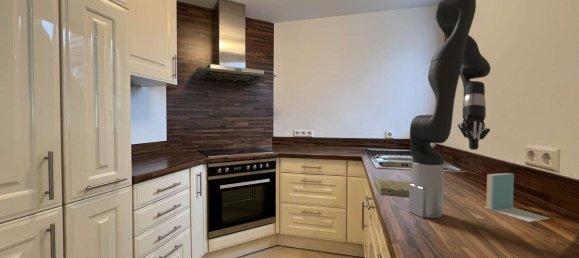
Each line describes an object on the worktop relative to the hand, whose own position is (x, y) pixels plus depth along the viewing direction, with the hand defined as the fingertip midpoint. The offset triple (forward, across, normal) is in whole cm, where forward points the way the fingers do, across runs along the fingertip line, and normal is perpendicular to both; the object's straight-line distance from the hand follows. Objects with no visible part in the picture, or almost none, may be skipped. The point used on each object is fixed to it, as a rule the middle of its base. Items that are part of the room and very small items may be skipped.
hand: (473, 149), depth 102 cm
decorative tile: (+20, -15, +23) cm, 34 cm away
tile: (+21, +7, -4) cm, 22 cm away
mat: (+22, +8, -9) cm, 25 cm away
